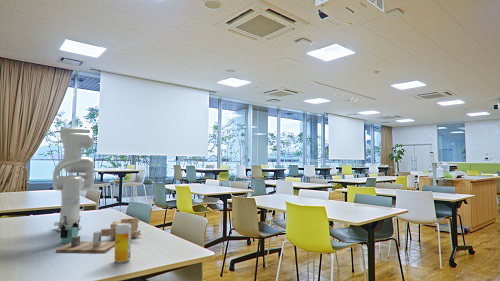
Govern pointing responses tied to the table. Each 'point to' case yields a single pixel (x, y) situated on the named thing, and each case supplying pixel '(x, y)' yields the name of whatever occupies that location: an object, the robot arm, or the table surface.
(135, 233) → the toy
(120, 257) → the beer can
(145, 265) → the table surface
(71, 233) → the teal block
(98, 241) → the tall post
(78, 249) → the stand
